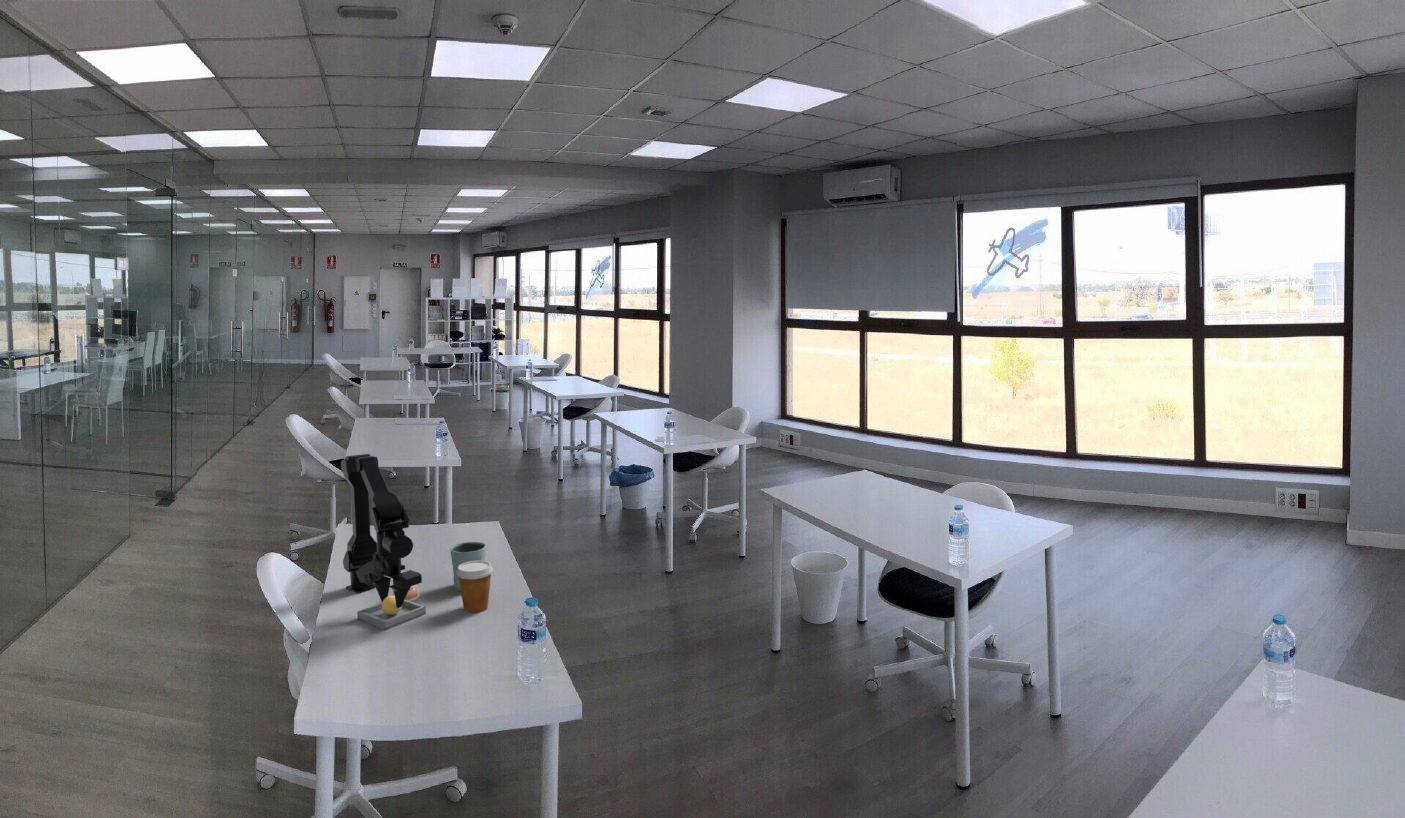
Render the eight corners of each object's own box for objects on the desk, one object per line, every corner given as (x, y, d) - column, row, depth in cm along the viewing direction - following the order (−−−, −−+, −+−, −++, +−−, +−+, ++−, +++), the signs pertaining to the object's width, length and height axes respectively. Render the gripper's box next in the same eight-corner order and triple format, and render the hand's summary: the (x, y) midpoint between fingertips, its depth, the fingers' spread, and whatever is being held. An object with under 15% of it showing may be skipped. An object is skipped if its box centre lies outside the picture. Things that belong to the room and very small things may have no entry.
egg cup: (385, 599, 208) (384, 587, 208) (408, 590, 215) (407, 578, 214) (402, 605, 204) (401, 592, 204) (425, 596, 211) (425, 584, 210)
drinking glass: (459, 595, 212) (457, 554, 210) (446, 584, 220) (444, 545, 218) (492, 587, 218) (491, 547, 217) (479, 577, 226) (478, 539, 225)
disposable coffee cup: (483, 616, 197) (482, 573, 196) (450, 613, 199) (449, 570, 198) (500, 602, 207) (499, 561, 205) (468, 599, 209) (467, 558, 207)
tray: (357, 619, 195) (357, 611, 195) (397, 604, 205) (397, 596, 205) (386, 629, 189) (385, 622, 188) (425, 613, 199) (425, 606, 198)
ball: (377, 615, 196) (376, 597, 195) (394, 609, 200) (393, 591, 200) (389, 619, 193) (388, 601, 193) (406, 613, 198) (405, 595, 197)
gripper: (338, 549, 192) (342, 607, 195) (383, 563, 183) (386, 623, 185) (377, 538, 202) (380, 593, 204) (422, 551, 192) (424, 608, 194)
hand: (391, 604), depth 196 cm, fingers open, 6 cm apart
